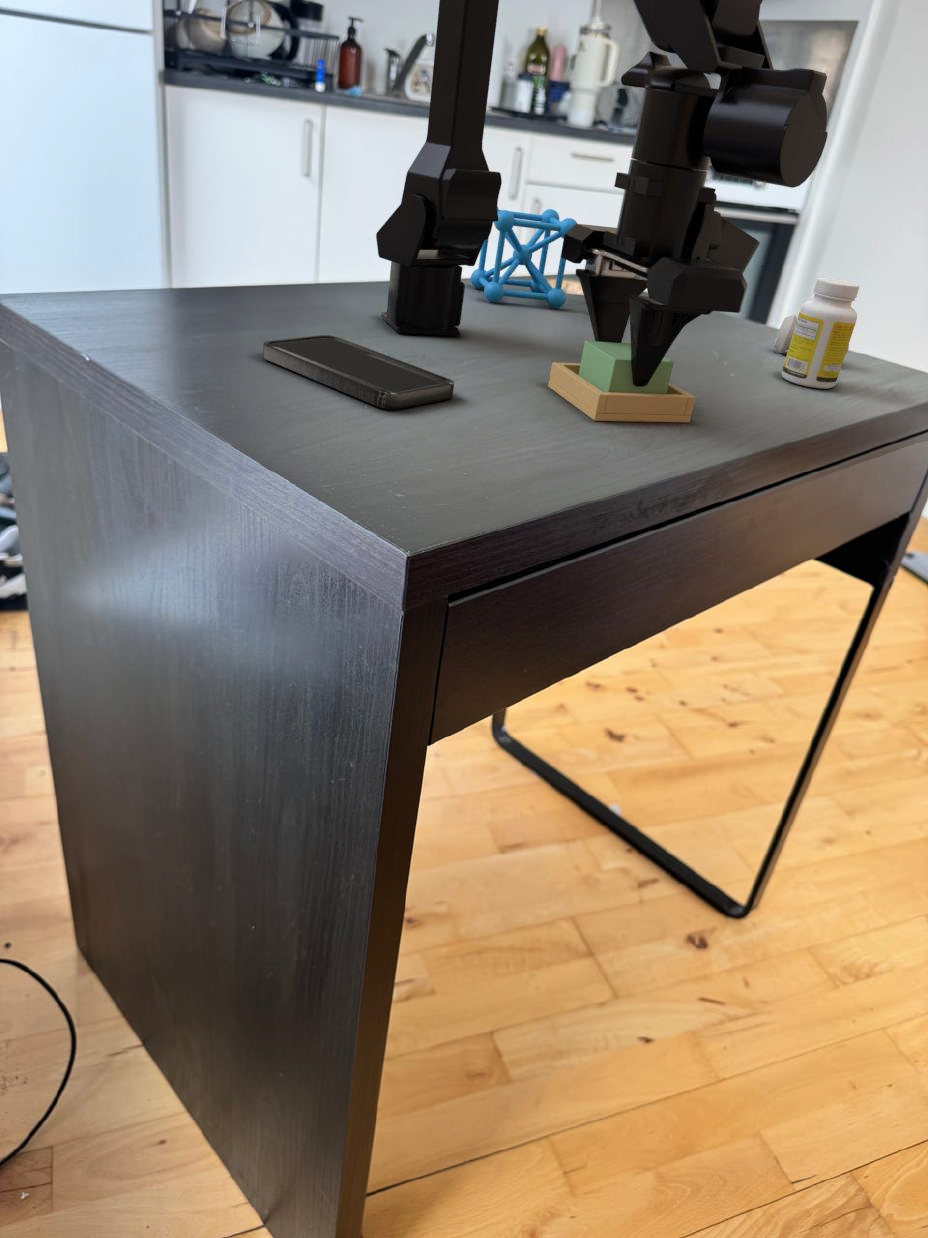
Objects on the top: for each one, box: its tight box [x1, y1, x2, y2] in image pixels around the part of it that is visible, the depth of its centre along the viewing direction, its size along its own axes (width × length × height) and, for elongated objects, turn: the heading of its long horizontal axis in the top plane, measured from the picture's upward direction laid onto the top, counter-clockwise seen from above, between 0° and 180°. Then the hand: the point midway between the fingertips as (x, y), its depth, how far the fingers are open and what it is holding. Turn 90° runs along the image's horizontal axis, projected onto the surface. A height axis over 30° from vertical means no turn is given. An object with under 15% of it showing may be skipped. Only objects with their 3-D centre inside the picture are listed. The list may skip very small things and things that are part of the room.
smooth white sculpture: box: [773, 314, 850, 356], centre depth 103 cm, size 4×8×5 cm
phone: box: [262, 334, 455, 410], centre depth 73 cm, size 8×1×15 cm
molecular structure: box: [470, 205, 578, 309], centre depth 109 cm, size 10×10×10 cm
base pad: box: [547, 361, 696, 423], centre depth 76 cm, size 9×9×2 cm
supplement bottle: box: [781, 276, 860, 390], centre depth 91 cm, size 5×5×10 cm
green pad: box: [578, 340, 675, 394], centre depth 75 cm, size 5×5×3 cm
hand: (622, 375), depth 75 cm, fingers closed on green pad, 5 cm apart
